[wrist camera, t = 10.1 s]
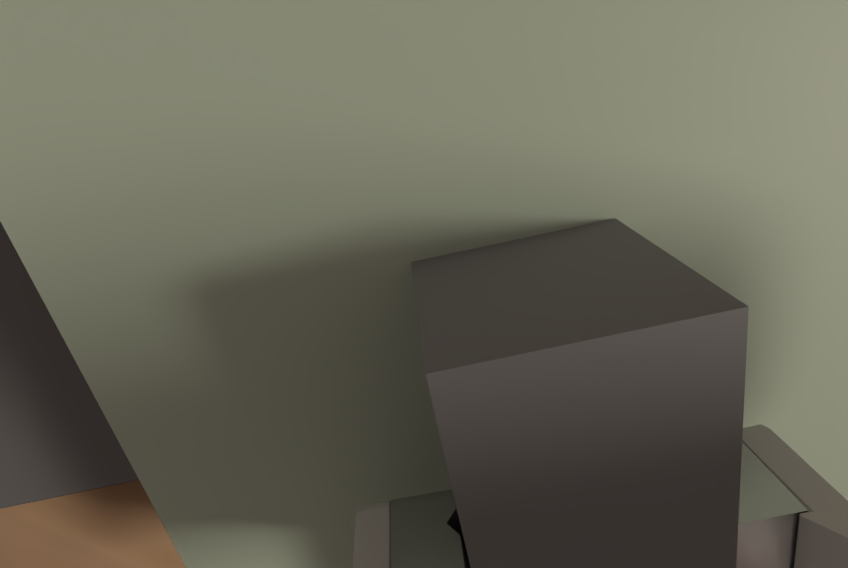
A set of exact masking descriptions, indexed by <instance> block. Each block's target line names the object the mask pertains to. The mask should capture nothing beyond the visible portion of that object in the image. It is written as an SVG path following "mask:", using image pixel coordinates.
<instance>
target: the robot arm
mask: <svg viewBox="0 0 848 568" xmlns="http://www.w3.org/2000/svg"><path fill="white" fill-rule="evenodd" d="M353 568H471V567H470V563H469V558H468V554H467V550H466V545H465V541H464V537H463V533H462V528H461V524H460V520H459V516H458V511H457V507H456V503H455V499H454V494H453V490H452V489H450V490H444V491H438V492H433V493H427V494H422V495H416V496H410V497H405V498H399V499H394V500H391V501H387V502H381V503H375V504H370V505H364V506H360V507H359V509H358V512H357V514H356V525H355V540H354V554H353ZM736 568H848V500H847V499H845V498H844V497H843V496H842V495H841V494H840V493H839V492H838V491H837V490H836V489H835V488H834V487H833V486H831V485H830V484H829V483H828V482H827V481H826V480H825V479H824V478H823V477H822V476H821V475H820V474H818V473H817V472H816V471H815V470H814V469H813V468H812V467H811V466H810V465H809V464H808V463H807V462H806V461H804V460H803V459H802V458H801V457H800V456H799V455H798V454H797V453H796V452H795V451H794V450H793V449H792V448H790V447H789V446H788V445H787V444H786V443H785V442H784V441H783V440H782V439H781V438H780V437H779V436H777V435H776V434H775V433H774V432H773V431H772V430H771V429H770V428H769V427H766V426H764V425H761V424H759V425H754V426H750V427H745V428H743V436H742V457H741V478H740V498H739V519H738V540H737V561H736Z"/></svg>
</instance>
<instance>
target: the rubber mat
mask: <svg viewBox="0 0 848 568" xmlns="http://www.w3.org/2000/svg"><path fill="white" fill-rule="evenodd" d="M135 480H139V479H138V477H137V475H136V473H135V471H134V469H133V467H132V466H131V464H130V462H129V460H128V458H127V456H126V454H125V453H124V451H123V449H122V447H121V445H120V443H119V441H118V439H117V438H116V436H115V434H114V432H113V430H112V428H111V426H110V425H109V423H108V421H107V419H106V417H105V415H104V413H103V412H102V410H101V408H100V406H99V404H98V402H97V400H96V399H95V397H94V395H93V393H92V391H91V389H90V387H89V385H88V384H87V382H86V380H85V378H84V376H83V374H82V372H81V371H80V369H79V367H78V365H77V363H76V361H75V359H74V358H73V356H72V354H71V352H70V350H69V348H68V346H67V344H66V343H65V341H64V339H63V337H62V335H61V333H60V331H59V330H58V328H57V326H56V324H55V322H54V320H53V318H52V317H51V315H50V313H49V311H48V309H47V307H46V305H45V304H44V302H43V300H42V298H41V296H40V294H39V292H38V290H37V289H36V287H35V285H34V283H33V281H32V279H31V277H30V276H29V274H28V272H27V270H26V268H25V266H24V264H23V263H22V261H21V259H20V257H19V255H18V253H17V251H16V249H15V248H14V246H13V244H12V242H11V240H10V238H9V236H8V235H7V233H6V231H5V229H4V227H3V225H2V223H1V222H0V509H1V508H6V507H10V506H15V505H20V504H25V503H30V502H34V501H39V500H44V499H49V498H54V497H58V496H63V495H68V494H73V493H78V492H83V491H87V490H92V489H97V488H102V487H107V486H111V485H116V484H121V483H126V482H131V481H135Z"/></svg>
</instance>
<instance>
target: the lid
mask: <svg viewBox="0 0 848 568" xmlns="http://www.w3.org/2000/svg"><path fill="white" fill-rule="evenodd" d="M0 222H1V223H2V225H3V227H4V229H5V231H6V233H7V235H8V236H9V238H10V240H11V242H12V244H13V246H14V248H15V249H16V251H17V253H18V255H19V257H20V259H21V261H22V263H23V264H24V266H25V268H26V270H27V272H28V274H29V276H30V277H31V279H32V281H33V283H34V285H35V287H36V289H37V290H38V292H39V294H40V296H41V298H42V300H43V302H44V304H45V305H46V307H47V309H48V311H49V313H50V315H51V317H52V318H53V320H54V322H55V324H56V326H57V328H58V330H59V331H60V333H61V335H62V337H63V339H64V341H65V343H66V344H67V346H68V348H69V350H70V352H71V354H72V356H73V358H74V359H75V361H76V363H77V365H78V367H79V369H80V371H81V372H82V374H83V376H84V378H85V380H86V382H87V384H88V385H89V387H90V389H91V391H92V393H93V395H94V397H95V399H96V400H97V402H98V404H99V406H100V408H101V410H102V412H103V413H104V415H105V417H106V419H107V421H108V423H109V425H110V426H111V428H112V430H113V432H114V434H115V436H116V438H117V439H118V441H119V443H120V445H121V447H122V449H123V451H124V453H125V454H126V456H127V458H128V460H129V462H130V464H131V466H132V467H133V469H134V471H135V473H136V475H137V477H138V479H139V480H140V482H141V484H142V486H143V488H144V490H145V492H146V493H147V495H148V497H149V499H150V501H151V503H152V505H153V507H154V508H155V510H156V512H157V514H158V516H159V518H160V520H161V521H162V523H163V525H164V527H165V529H166V531H167V533H168V534H169V536H170V538H171V540H172V542H173V544H174V546H175V548H176V549H177V551H178V553H179V555H180V557H181V559H182V561H183V562H184V564H185V566H186V568H353V554H354V540H355V525H356V514H357V512H358V509H359V507H360V506H364V505H370V504H375V503H381V502H387V501H391V500H394V499H399V498H405V497H410V496H416V495H422V494H427V493H433V492H438V491H444V490H450V489H452V490H453V494H454V499H455V503H456V507H457V511H458V516H459V520H460V524H461V528H462V533H463V537H464V541H465V545H466V550H467V554H468V558H469V563H470V567H471V568H736V561H737V540H738V519H739V498H740V478H741V457H742V436H743V428H745V427H750V426H754V425H759V424H761V425H764V426H766V427H769V428H770V429H771V430H772V431H773V432H774V433H775V434H776V435H777V436H779V437H780V438H781V439H782V440H783V441H784V442H785V443H786V444H787V445H788V446H789V447H790V448H792V449H793V450H794V451H795V452H796V453H797V454H798V455H799V456H800V457H801V458H802V459H803V460H804V461H806V462H807V463H808V464H809V465H810V466H811V467H812V468H813V469H814V470H815V471H816V472H817V473H818V474H820V475H821V476H822V477H823V478H824V479H825V480H826V481H827V482H828V483H829V484H830V485H831V486H833V487H834V488H835V489H836V490H837V491H838V492H839V493H840V494H841V495H842V496H843V497H844V498H845V499H847V500H848V0H0Z"/></svg>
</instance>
